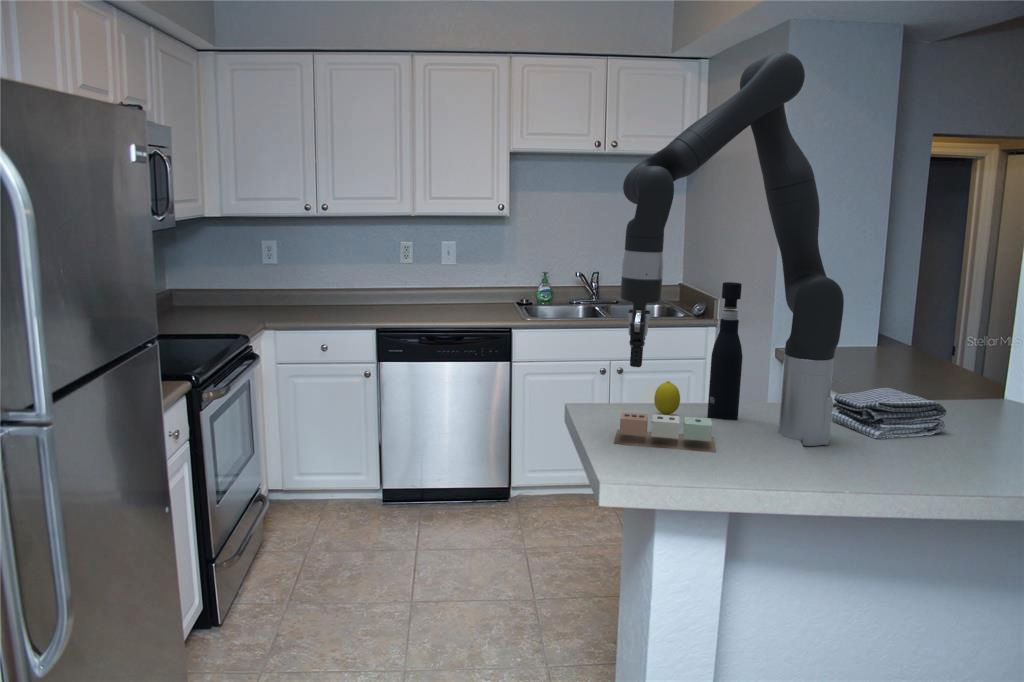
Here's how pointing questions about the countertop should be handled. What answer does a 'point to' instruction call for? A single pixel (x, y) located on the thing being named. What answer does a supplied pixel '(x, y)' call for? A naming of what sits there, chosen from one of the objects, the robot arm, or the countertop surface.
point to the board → (665, 442)
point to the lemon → (667, 398)
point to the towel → (888, 413)
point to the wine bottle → (726, 360)
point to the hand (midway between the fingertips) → (635, 366)
